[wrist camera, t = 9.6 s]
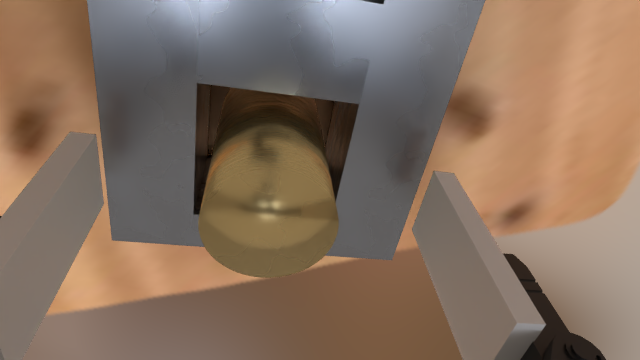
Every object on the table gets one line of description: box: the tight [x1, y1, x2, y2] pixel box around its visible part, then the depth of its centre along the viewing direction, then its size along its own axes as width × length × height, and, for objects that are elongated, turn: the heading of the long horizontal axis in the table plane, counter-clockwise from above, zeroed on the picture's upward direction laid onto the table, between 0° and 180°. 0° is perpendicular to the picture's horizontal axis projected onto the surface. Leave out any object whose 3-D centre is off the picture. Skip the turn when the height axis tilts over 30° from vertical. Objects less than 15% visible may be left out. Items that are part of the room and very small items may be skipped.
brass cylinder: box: [198, 87, 339, 278], centre depth 17 cm, size 4×4×8 cm
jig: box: [87, 0, 485, 260], centre depth 16 cm, size 18×12×4 cm, turn 170°
